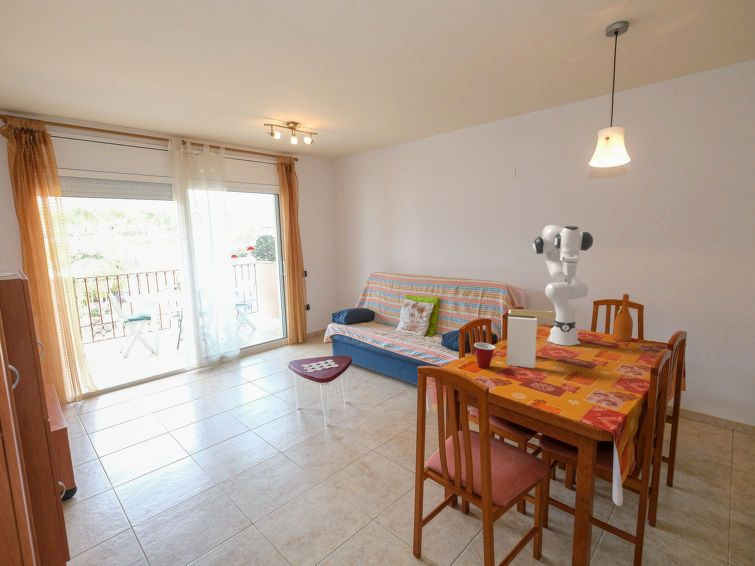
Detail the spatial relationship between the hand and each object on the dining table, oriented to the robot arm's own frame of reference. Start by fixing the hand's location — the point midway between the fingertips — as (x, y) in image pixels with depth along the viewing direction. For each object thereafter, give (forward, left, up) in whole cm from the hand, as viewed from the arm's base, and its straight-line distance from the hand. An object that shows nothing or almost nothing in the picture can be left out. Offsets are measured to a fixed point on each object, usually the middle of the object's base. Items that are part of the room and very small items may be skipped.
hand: (567, 283), depth 189 cm
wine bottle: (-54, +40, -43) cm, 80 cm away
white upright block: (+6, -22, -43) cm, 49 cm away
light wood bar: (+10, -17, -17) cm, 26 cm away
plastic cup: (+22, -40, -43) cm, 63 cm away
